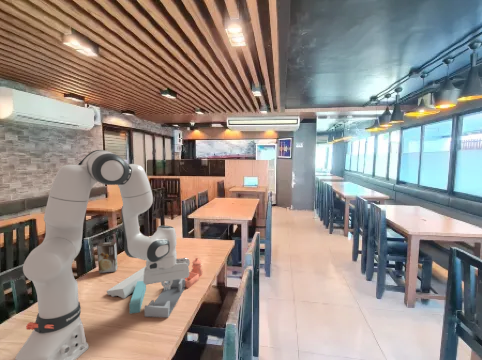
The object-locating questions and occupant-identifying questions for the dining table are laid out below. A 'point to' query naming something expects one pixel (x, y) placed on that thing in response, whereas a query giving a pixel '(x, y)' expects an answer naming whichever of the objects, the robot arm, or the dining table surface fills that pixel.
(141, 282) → the slat
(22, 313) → the dining table surface
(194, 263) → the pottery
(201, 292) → the dining table surface
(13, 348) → the dining table surface
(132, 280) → the decorative molding
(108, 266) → the coffee box
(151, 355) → the dining table surface
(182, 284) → the end cap cradle
